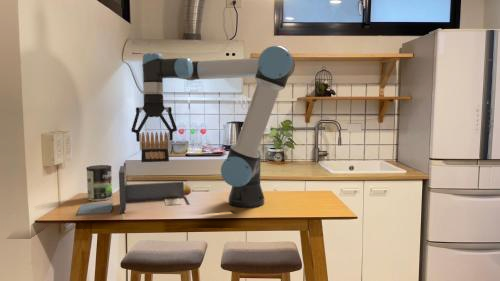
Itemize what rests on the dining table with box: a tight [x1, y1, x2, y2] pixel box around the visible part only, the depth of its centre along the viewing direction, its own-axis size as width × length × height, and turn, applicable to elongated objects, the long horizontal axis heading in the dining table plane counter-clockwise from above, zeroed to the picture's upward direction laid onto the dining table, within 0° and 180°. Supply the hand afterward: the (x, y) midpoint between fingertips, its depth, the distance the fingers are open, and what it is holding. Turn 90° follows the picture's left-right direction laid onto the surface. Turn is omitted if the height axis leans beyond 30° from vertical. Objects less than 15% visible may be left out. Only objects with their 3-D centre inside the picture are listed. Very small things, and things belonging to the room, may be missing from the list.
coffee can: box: [86, 164, 113, 202], centre depth 171 cm, size 10×10×14 cm
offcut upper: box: [163, 198, 182, 207], centre depth 160 cm, size 6×10×1 cm, turn 16°
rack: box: [118, 165, 190, 215], centre depth 157 cm, size 26×16×16 cm, turn 106°
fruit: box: [183, 182, 192, 196], centre depth 175 cm, size 11×10×8 cm
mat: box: [76, 202, 114, 216], centre depth 154 cm, size 12×14×1 cm
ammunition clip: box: [140, 131, 170, 163], centre depth 156 cm, size 11×2×12 cm, turn 98°
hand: (155, 149), depth 156 cm, fingers closed on ammunition clip, 10 cm apart
